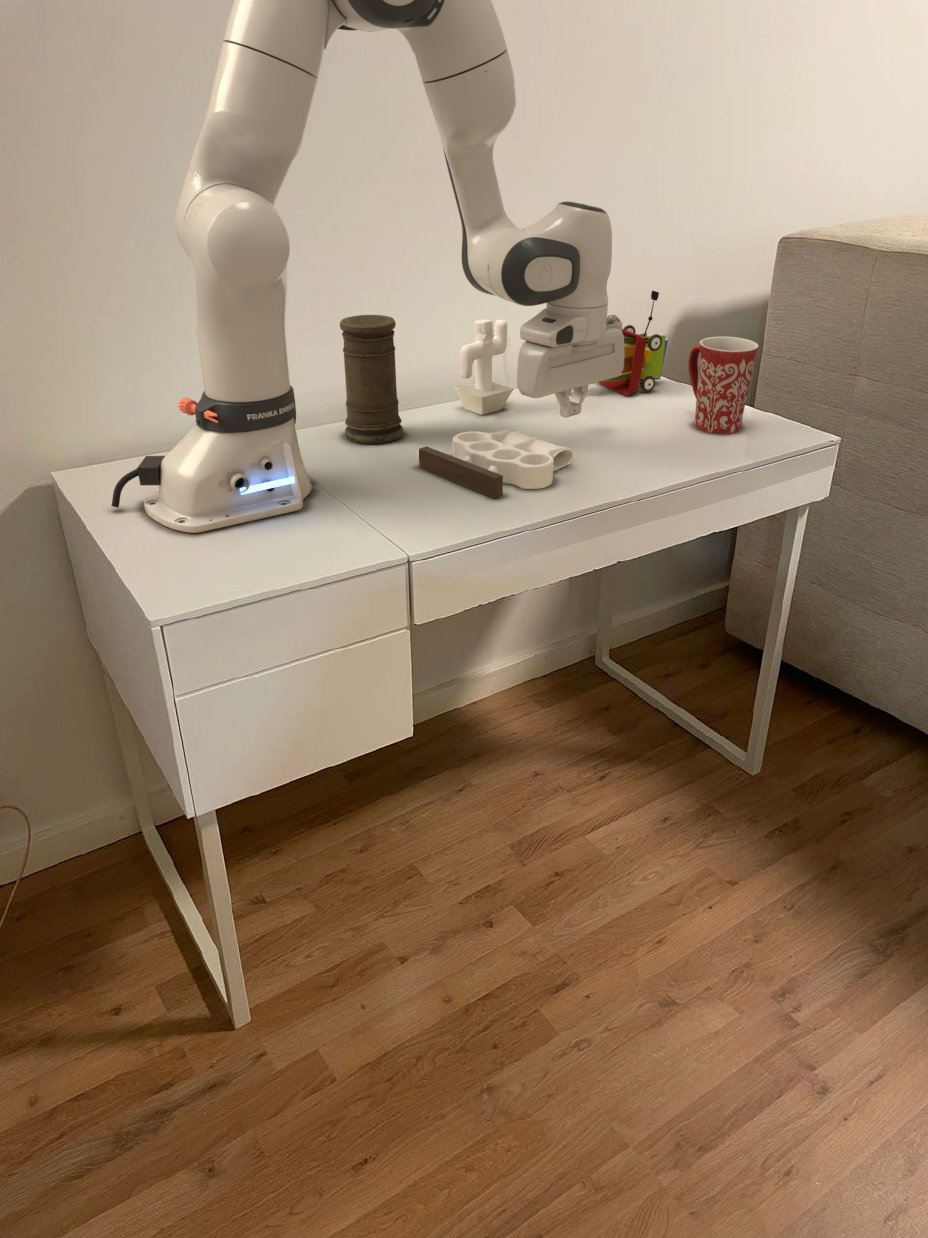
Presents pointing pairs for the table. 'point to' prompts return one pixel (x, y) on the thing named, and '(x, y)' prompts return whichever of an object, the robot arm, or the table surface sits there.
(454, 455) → the cream flat holed block
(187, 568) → the table surface
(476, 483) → the bar
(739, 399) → the mug
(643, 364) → the robot toy
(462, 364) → the figurine
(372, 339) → the container
